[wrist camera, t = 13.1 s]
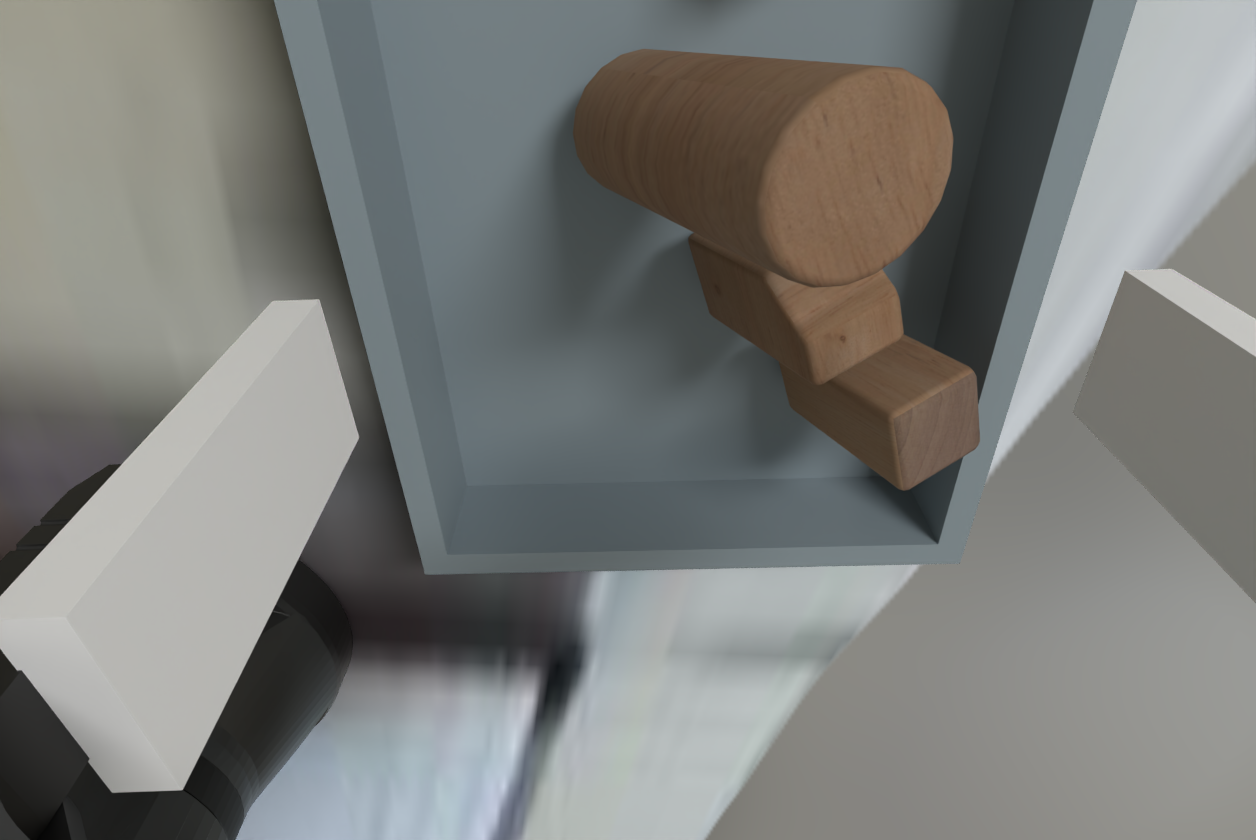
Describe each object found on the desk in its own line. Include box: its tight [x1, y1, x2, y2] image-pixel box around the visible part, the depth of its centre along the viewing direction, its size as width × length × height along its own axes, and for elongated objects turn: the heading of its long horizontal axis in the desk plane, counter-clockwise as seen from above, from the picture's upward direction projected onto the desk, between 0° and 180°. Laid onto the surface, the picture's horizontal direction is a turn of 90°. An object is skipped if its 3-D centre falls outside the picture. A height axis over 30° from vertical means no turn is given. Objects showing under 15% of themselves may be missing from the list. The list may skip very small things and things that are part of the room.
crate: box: [274, 0, 1137, 575], centre depth 21 cm, size 20×28×5 cm
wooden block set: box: [573, 49, 980, 491], centre depth 19 cm, size 18×9×10 cm, turn 18°
